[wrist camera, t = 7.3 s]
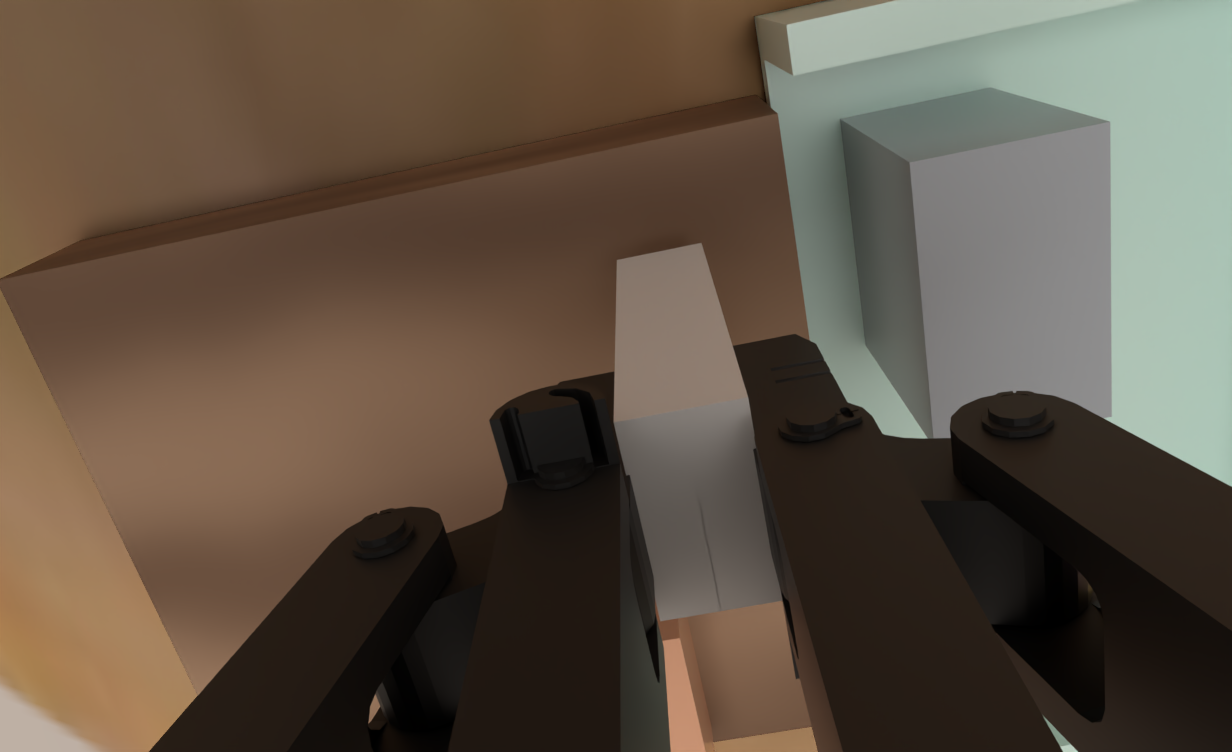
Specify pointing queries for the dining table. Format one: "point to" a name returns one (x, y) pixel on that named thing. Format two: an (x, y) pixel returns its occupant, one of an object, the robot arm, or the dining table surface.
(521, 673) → the robot arm
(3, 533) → the dining table surface
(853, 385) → the tray
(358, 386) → the plate
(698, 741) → the terracotta tile
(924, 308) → the grey square block
